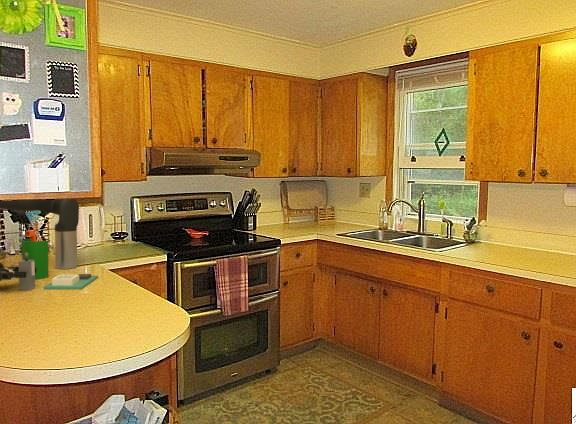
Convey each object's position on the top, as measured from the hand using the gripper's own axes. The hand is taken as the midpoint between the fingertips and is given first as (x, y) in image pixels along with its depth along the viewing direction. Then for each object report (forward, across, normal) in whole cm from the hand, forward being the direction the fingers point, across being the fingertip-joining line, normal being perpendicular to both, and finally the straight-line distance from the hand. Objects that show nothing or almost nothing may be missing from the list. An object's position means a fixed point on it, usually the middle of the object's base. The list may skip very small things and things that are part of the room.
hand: (31, 272), depth 182 cm
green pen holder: (-8, +21, +7) cm, 23 cm away
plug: (-2, 0, +6) cm, 7 cm away
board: (+11, +10, +6) cm, 16 cm away
